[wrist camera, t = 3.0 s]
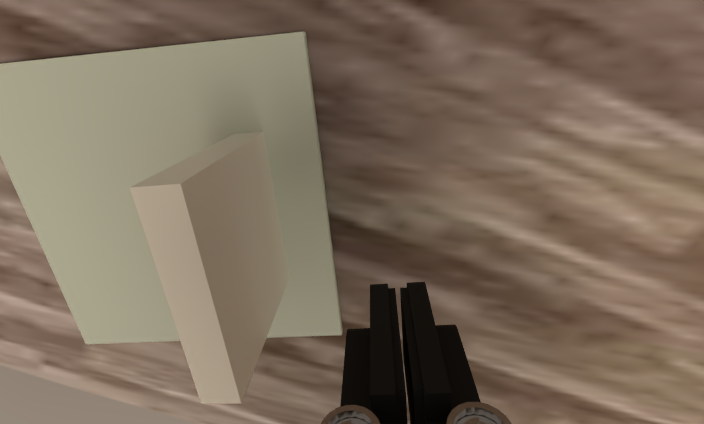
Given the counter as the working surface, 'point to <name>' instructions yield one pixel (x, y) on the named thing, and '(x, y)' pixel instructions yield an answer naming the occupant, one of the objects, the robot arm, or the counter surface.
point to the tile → (218, 258)
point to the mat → (155, 156)
